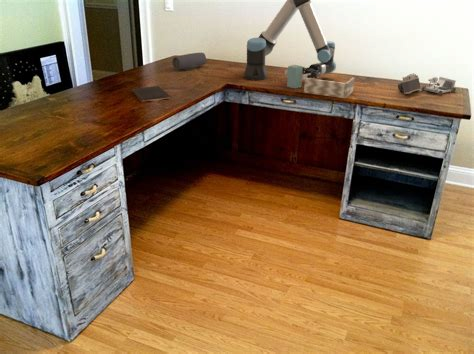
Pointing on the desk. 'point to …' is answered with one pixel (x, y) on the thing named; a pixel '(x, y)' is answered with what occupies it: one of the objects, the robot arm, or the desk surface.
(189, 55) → the bluetooth speaker
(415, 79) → the camera
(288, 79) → the teal block
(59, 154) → the desk surface
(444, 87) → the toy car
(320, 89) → the arena
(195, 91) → the desk surface
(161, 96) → the hardcover book
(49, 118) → the desk surface
